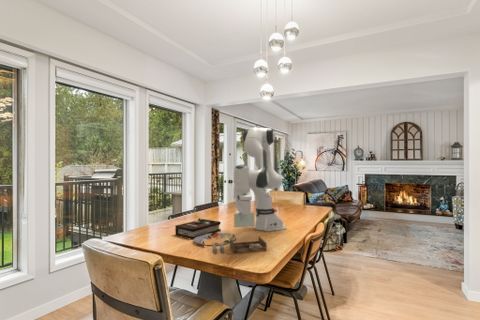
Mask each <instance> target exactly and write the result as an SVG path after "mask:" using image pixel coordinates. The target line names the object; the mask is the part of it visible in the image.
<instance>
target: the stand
mask: <svg viewBox="0 0 480 320" xmlns="http://www.w3.org/2000/svg"><path fill="white" fill-rule="evenodd" d="M219 244H220V245H219V249H220V251H221V253H222V254H225V253H226V252H225V247H224V244H223V243H219ZM212 247H213V248H212V250H213V252H214V254H215V255H217V254H218V249H217V245H215V244H212Z"/></svg>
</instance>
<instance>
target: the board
mask: <svg viewBox="0 0 480 320" xmlns="http://www.w3.org/2000/svg"><path fill="white" fill-rule="evenodd" d="M241 218H242V215H241V213H239V212H238V213H233V227H234V228H243V227H244V228H245V227H248V228H249V227H255V223H256V213H255V212H250V215H246V217H245V221H242V220H241Z"/></svg>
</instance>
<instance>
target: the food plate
mask: <svg viewBox="0 0 480 320" xmlns="http://www.w3.org/2000/svg"><path fill="white" fill-rule="evenodd" d="M204 239H205V240H206V239H207V240H218V239H220V240H221V239H225V240H224V241H223V244H224V245H226V244H228V243H229V244H230V239H232V241H233V242H234V241H236V240H237V238H236V236H235V234H234V233H233V234H230V233H226V232H213V233H210V234H204V235H201V236H198V237H196V238H194V239H193V241H194V243H196V244H199V245H204V246H206V244H205V240H204ZM207 240H206V241H207ZM201 242H202V243H201ZM213 244H215V246H220V244H221V243H218V242H212V243H211V245H213Z"/></svg>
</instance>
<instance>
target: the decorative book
mask: <svg viewBox="0 0 480 320" xmlns="http://www.w3.org/2000/svg"><path fill="white" fill-rule="evenodd" d="M220 226H221V221H219V220H211V219H205V218H199V217H198V219H197V220H194V221H193V220H192V221H189V222H185V223H181V224H177V225H175V226H174V227H175V230H174V232H175V236H176V235H177V236H176V237H180V236H182V237H181V238H185V237H186V238H185V239H189V238H190V240H194V238H196V237H198V236H201V235H204V234H210V233H213V232H217V233H220V232H221V228H220Z"/></svg>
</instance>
